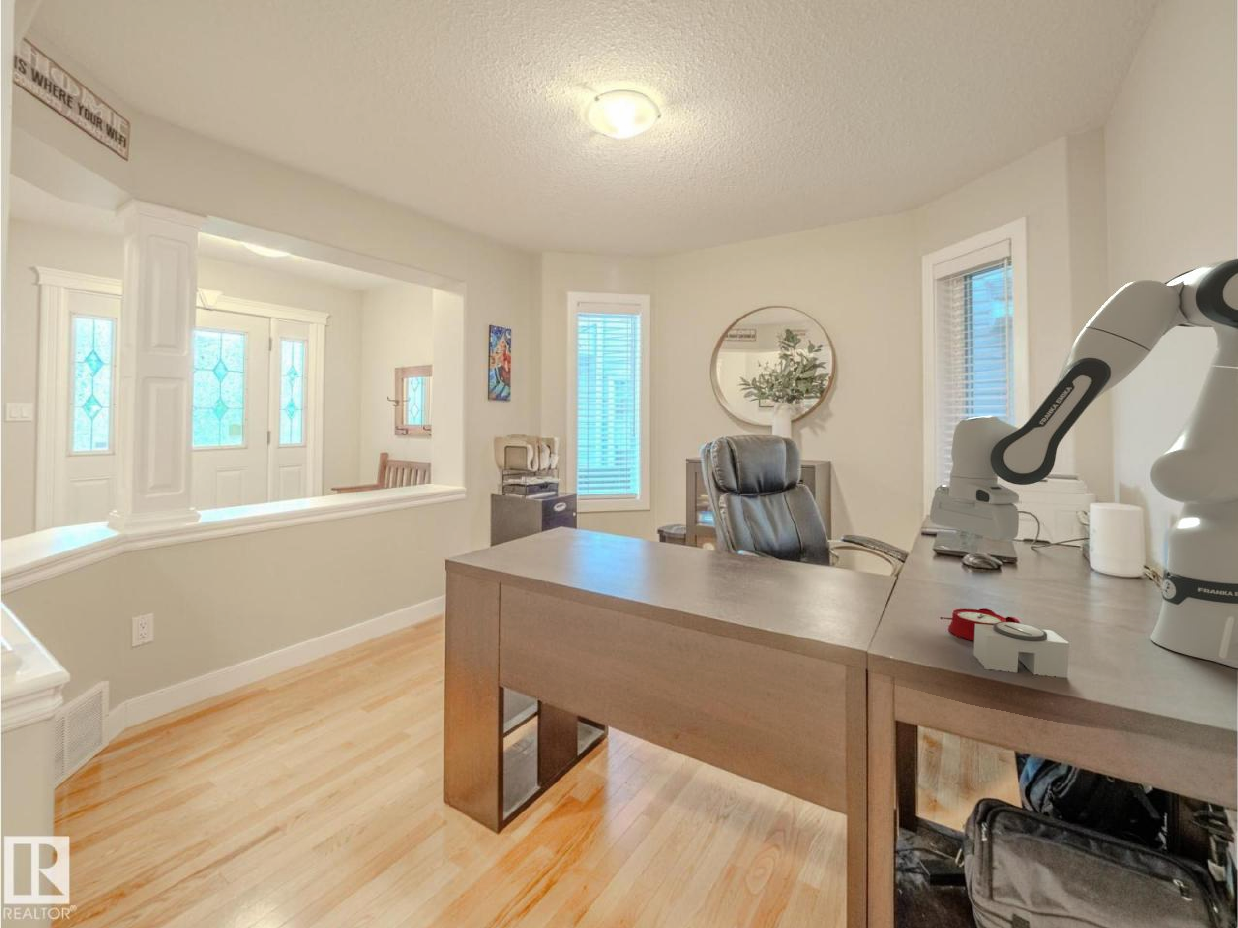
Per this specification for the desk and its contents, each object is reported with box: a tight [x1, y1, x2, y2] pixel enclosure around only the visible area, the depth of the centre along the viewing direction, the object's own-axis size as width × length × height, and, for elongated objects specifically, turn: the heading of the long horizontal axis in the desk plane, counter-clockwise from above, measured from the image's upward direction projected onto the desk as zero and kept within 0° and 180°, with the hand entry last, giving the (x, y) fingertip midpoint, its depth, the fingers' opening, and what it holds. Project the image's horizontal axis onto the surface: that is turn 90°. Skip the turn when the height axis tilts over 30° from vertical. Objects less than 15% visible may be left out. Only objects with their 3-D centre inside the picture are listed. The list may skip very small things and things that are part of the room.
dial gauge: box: [972, 622, 1070, 679], centre depth 96 cm, size 12×8×7 cm, turn 74°
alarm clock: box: [939, 607, 1021, 642], centre depth 111 cm, size 10×6×15 cm
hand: (968, 551), depth 121 cm, fingers closed
